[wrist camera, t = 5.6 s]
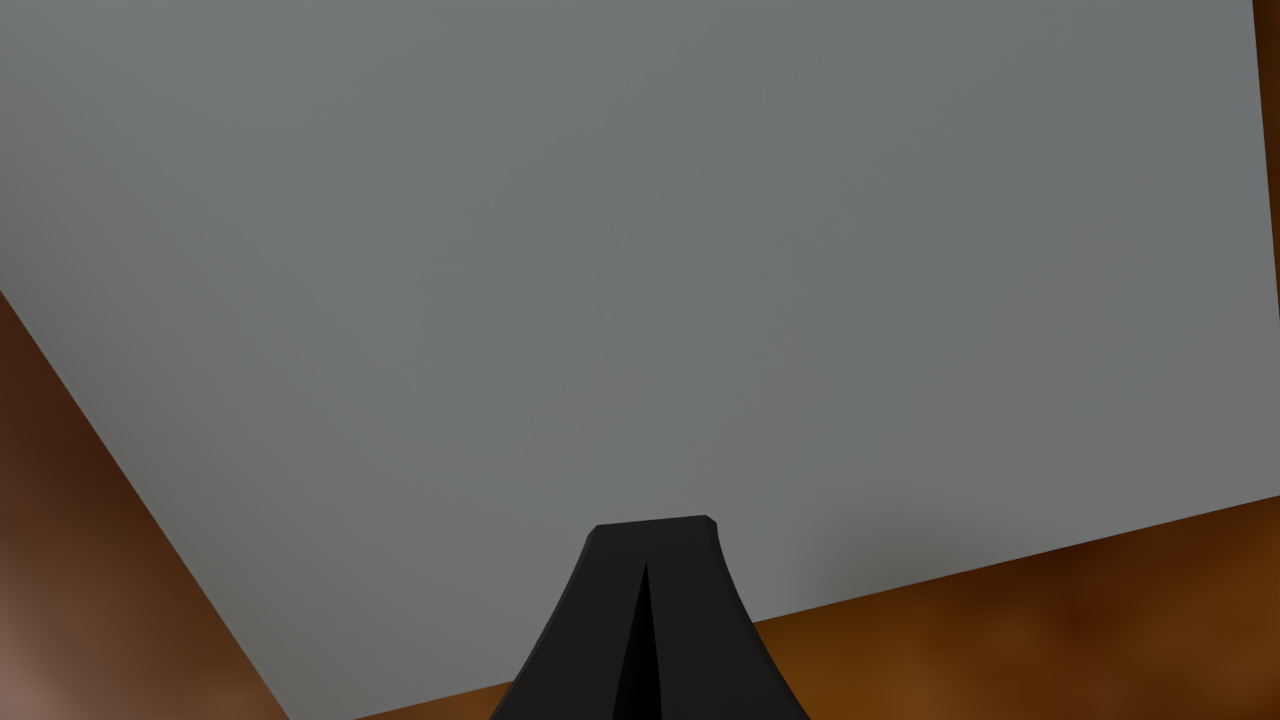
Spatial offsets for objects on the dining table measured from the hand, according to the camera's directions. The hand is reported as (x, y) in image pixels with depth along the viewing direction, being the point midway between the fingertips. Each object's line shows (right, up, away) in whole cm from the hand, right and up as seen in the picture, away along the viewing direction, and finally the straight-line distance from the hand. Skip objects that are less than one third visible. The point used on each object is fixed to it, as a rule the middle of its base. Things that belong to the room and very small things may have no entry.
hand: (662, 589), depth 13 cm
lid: (-1, +5, +3) cm, 6 cm away
